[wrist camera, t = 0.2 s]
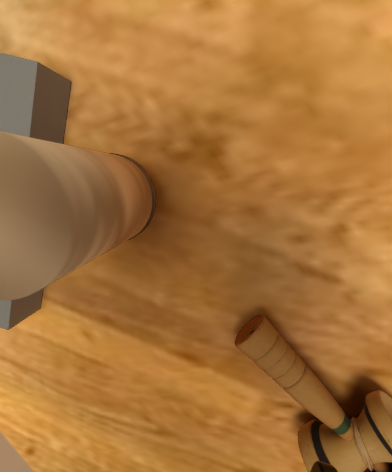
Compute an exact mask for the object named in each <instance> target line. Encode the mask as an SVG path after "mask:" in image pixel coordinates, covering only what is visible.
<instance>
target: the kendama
mask: <svg viewBox="0 0 392 472" xmlns="http://www.w3.org/2000/svg"><path fill="white" fill-rule="evenodd" d="M235 345H236V347H238V348H239V349H240V350H241V351H242V352H243V353H244V354H246V355H247V356H248V357H249V358H250V359H252V360H253V361H254V362H255V363H256V364H257V365H258V366H259V367H261V368H262V369H263V370H264V371H265V372H266V373H267V374H268V375H269V376H270V377H272V378H273V380H274V381H275V382H277V383H278V384H279V385H280V386H281V387H283V389H284V390H285V391H286V392H287V393H288V394H289V395H291V396H292V397H293V398H294V399H295V400H296V401H297V402H298V403H299V404H301V405H302V406H303V407H304V408H305V409H306V410H308V411H309V412H310V413H311V414H313V415H314V416H315V417H316V418H318V419H319V420H320V421H321V422H320V421H319V420H315V419H314V420H311V421H309V422H308V423H306V424H304V425H303V426H301V427H300V429H299V431H298V444H299V448H300V452H301V455H302V458H303V461H304V464H305V466H306V468H307V470H308V472H310V471H311V468H312V466H313V464H314V462H316V461H321V462H324V463H328V464H331V465H333V466H334V467H335V468H336V469H337V471H338V472H392V398H391V397H390V396H388V395H387V394H386V393H385V392H383V391H381V390H377V391H374V392H371V393H369V394H367V395H366V397H365V403H364V407H363V410H362V412H361V414H360V415H359V416H358V418H357V419H356V418H354V417H352V419H351V420H350V419H349V418H348V417H347V415H346V414H345V412H344V411H343V410H342V408H341V407H340V406H339V404H338V403H337V402H336V400H335V399H334V398H333V396H332V395H331V394H330V392H329V391H328V390H327V389H326V387H325V386H324V385H323V384H322V382H321V381H320V380H319V379H318V378H317V376H316V375H315V374H314V373H313V372H312V371H311V370H310V368H309V367H308V366H307V365H306V364H305V363H304V362H303V361H302V359H301V358H300V357H299V356H298V355H297V354H296V353H295V352H294V350H293V349H292V348H291V347H290V346H289V345H288V344H287V343H286V341H285V340H284V339H283V338H282V337H281V335H280V334H279V333H277V331H276V329H275V328H274V327H273V326H272V325H271V323H270V322H269V321H268V320H267V319H266V317H264V315H259V316H256V317H254V318H253V319H252V320H250V321H249V322H248V323H247V324H246V325H245V326H244V327H243V328H242V329H241V331H240V332H239V334H238V335H237V337H236V340H235ZM322 422H323V423H322Z"/></svg>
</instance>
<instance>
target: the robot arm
mask: <svg viewBox="0 0 392 472" xmlns="http://www.w3.org/2000/svg"><path fill="white" fill-rule="evenodd" d="M310 472H338V471H337V469H336V468H335V467H334V466H333V465H331V464H328V463H324V462H321V461H316V462H314V464H313V466H312V468H311V471H310Z"/></svg>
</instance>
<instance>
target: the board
mask: <svg viewBox="0 0 392 472" xmlns="http://www.w3.org/2000/svg"><path fill="white" fill-rule="evenodd" d="M70 88H71V81H69V80H67V79H66V78H64V77H62V76H61V75H59V74H57V73H56V72H54V71H52V70H50V69H49V68H47V67H45V66H44V65H42V64H40V63H39V62H36V61H32V60H28V59H23V58H19V57H15V56H11V55H7V54H3V53H0V131H1V132H6V133H11V134H16V135H21V136H26V137H30V138H35V139H40V140H45V141H50V142H55V143H60V144H63V139H64V132H65V125H66V117H67V110H68V103H69V95H70ZM42 293H43V288H42V289H40V290H39V291H37V292H35V293H33V294H31V295H29V296H26V297H23V298H20V299H15V300H0V328H3V329H7V330H9V329H11V328H12V327H14V326H15V325H17V324H18V323H20V322H21V321H23V320H24V319H26V318H27V317H29V316H30V315H32V314H33V313H35V312H36V311H37V310H39V309H40V308H41V301H42Z"/></svg>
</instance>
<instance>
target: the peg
mask: <svg viewBox="0 0 392 472" xmlns="http://www.w3.org/2000/svg"><path fill="white" fill-rule="evenodd" d="M155 206H156V194H155V189H154V186H153V183H152V181H151V179H150V177H149V175H148V174H147V172H146V171H145V170H144V169H143V167H142V166H141V165H139V164H138V163H137V162H135V161H134V160H132V159H130V158H128V157H126V156H123V155H119V154H113V153H104V152H100V151H95V150H90V149H85V148H80V147H75V146H70V145H65V144H60V143H55V142H50V141H45V140H40V139H35V138H30V137H26V136H21V135H16V134H11V133H6V132H1V131H0V300H15V299H20V298H23V297H26V296H29V295H31V294H33V293H35V292H37V291H39V290H40V289H42V288H44V287H46V286H47V285H49V284H51V283H53V282H55V281H56V280H58V279H60V278H62V277H63V276H65V275H67V274H69V273H70V272H72V271H74V270H76V269H77V268H79V267H81V266H83V265H84V264H86V263H88V262H90V261H91V260H93V259H95V258H97V257H98V256H100V255H102V254H104V253H105V252H107V251H109V250H111V249H112V248H114V247H116V246H118V245H119V244H121V243H123V242H125V241H127V240H129V239H131V238H133V237H135V236H137V235H138V234H140V233H141V232H142V231H143V230H144V229H145V228H146V227H147V226H148V225H149V223H150V221H151V219H152V217H153V215H154V211H155Z"/></svg>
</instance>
